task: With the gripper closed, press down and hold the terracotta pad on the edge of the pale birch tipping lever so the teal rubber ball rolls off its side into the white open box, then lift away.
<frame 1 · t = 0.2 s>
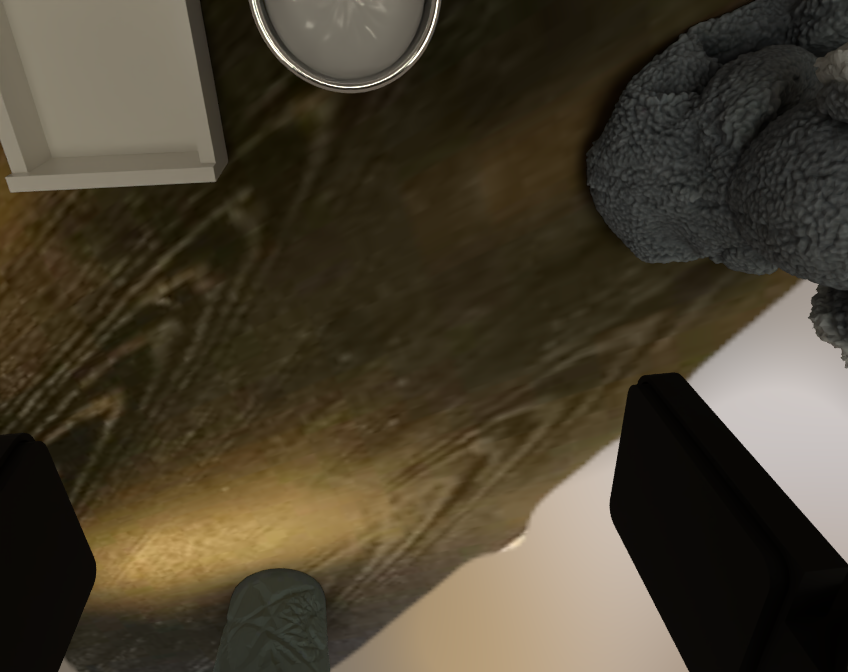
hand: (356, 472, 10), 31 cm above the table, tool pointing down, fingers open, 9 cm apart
drinking glass: (280, 595, 57), on the table
white open box: (113, 70, 34), on the table
koala plush: (705, 137, 40), on the table
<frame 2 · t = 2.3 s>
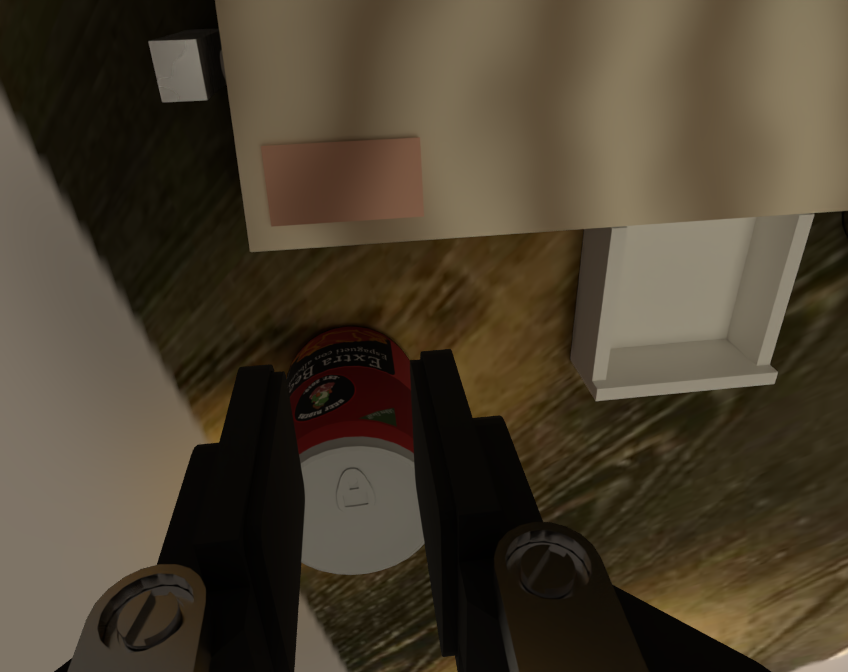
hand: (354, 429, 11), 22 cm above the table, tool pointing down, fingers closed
white open box: (666, 274, 36), on the table
lever: (572, 45, 23), point 6 cm above the table, hinge at 12.0°, touching ball
lever stand: (528, 40, 29), on the table
canned food: (351, 378, 37), on the table
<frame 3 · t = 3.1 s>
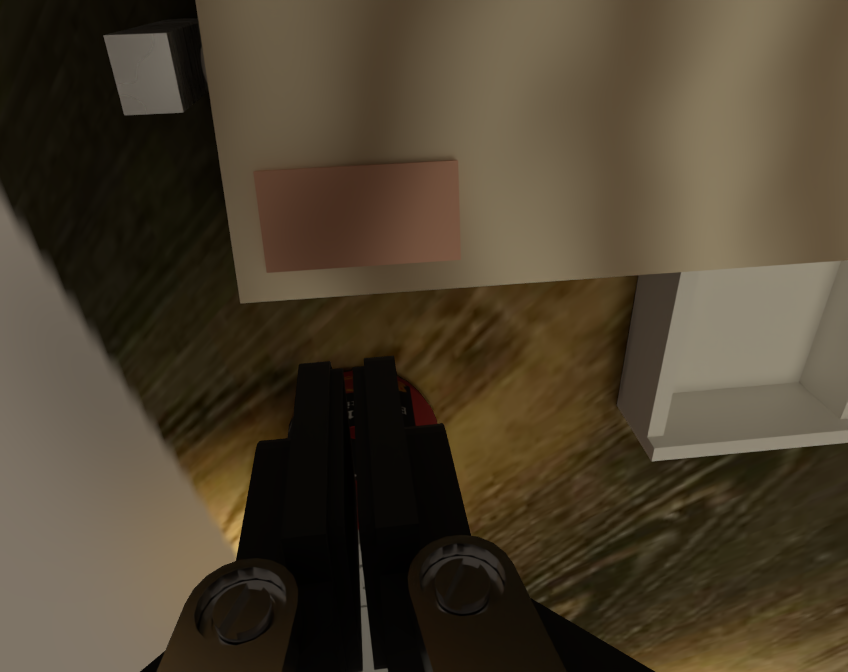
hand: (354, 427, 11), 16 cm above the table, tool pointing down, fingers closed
white open box: (734, 310, 31), on the table
lever: (657, 42, 18), point 6 cm above the table, hinge at 12.0°, touching ball
lever stand: (586, 34, 23), on the table
canned food: (363, 426, 32), on the table
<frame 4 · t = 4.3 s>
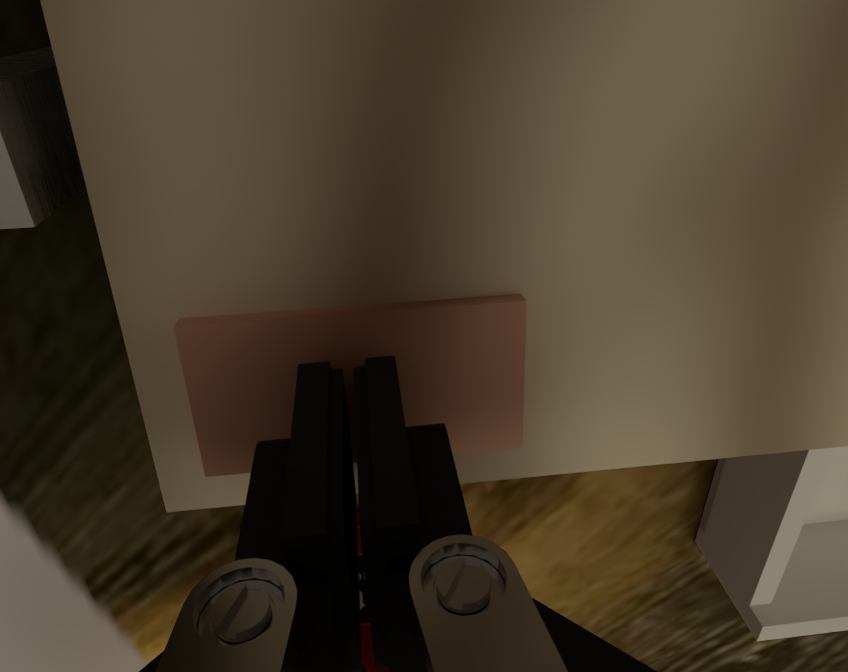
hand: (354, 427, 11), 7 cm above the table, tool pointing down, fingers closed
lever stand: (696, 66, 16), on the table
canned food: (363, 573, 24), on the table
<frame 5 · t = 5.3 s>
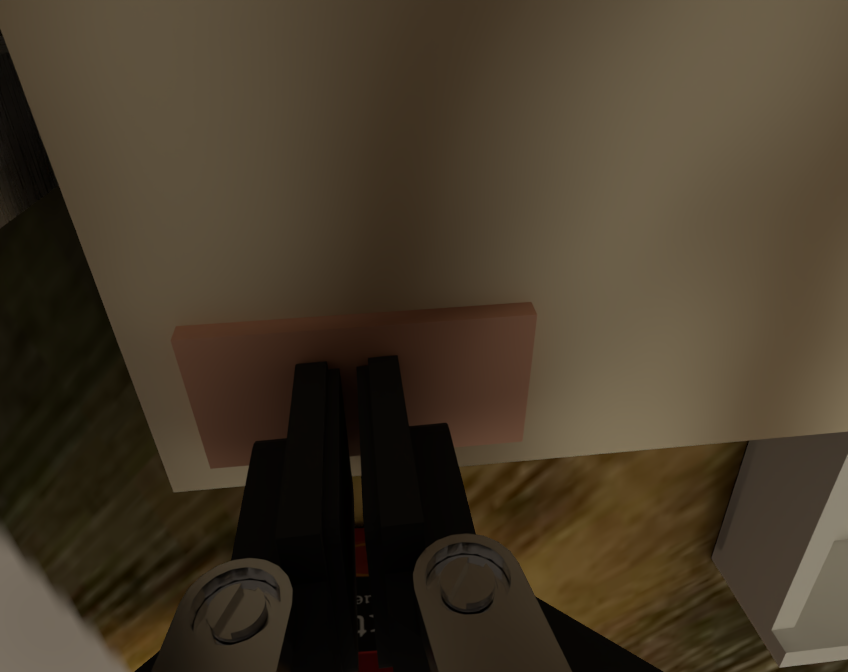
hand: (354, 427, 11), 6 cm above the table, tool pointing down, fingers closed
lever stand: (727, 57, 14), on the table
canned food: (364, 591, 23), on the table
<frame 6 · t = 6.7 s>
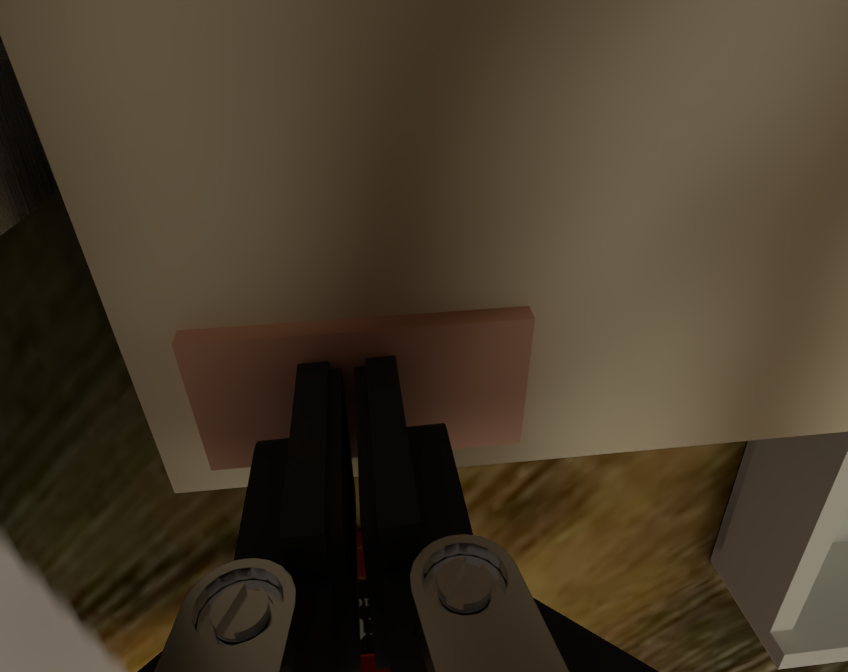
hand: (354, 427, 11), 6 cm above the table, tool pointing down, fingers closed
lever stand: (724, 62, 15), on the table
canned food: (363, 594, 23), on the table
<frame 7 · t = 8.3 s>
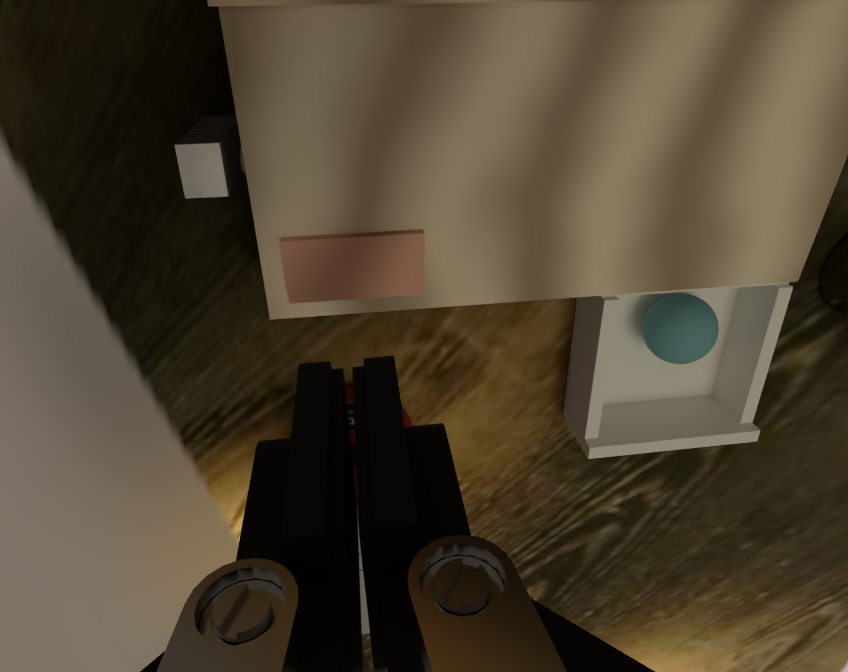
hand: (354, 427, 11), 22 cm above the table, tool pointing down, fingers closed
white open box: (654, 336, 38), on the table
lever: (569, 156, 25), point 6 cm above the table, hinge at -5.9°
ball: (679, 328, 35), point 2 cm above the table, tilted 101°, touching white open box
lever stand: (526, 126, 31), on the table
canned food: (352, 433, 38), on the table
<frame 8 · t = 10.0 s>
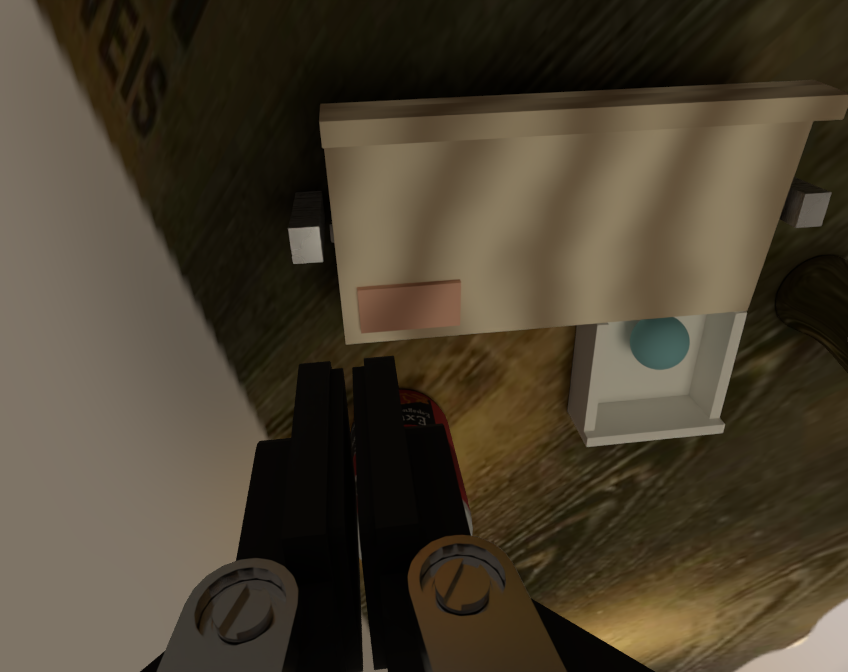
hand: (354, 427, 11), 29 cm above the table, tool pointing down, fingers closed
beer glass: (811, 290, 47), on the table
white open box: (640, 348, 47), on the table
lever: (567, 227, 35), point 6 cm above the table, hinge at -5.9°
ball: (659, 341, 44), point 2 cm above the table, tilted 94°, touching white open box
lever stand: (536, 192, 40), on the table
canned food: (398, 426, 48), on the table
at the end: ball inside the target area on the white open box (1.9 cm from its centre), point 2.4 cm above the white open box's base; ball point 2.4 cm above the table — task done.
